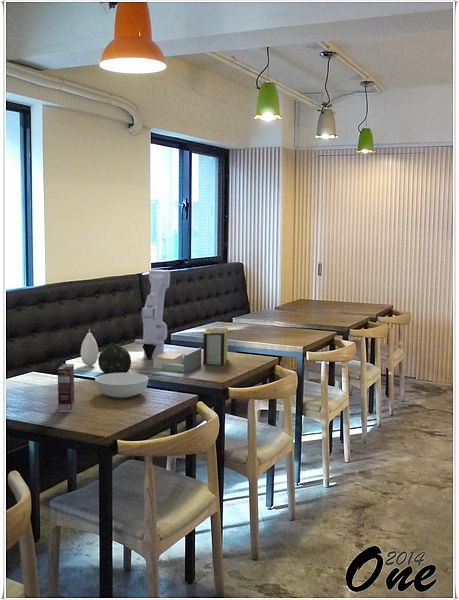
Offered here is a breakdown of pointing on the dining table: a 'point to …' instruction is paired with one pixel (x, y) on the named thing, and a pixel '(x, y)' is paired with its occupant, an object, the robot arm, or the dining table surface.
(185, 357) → the grey printed box
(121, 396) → the serving bowl
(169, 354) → the carton
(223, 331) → the protein box
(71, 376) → the supplement box
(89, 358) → the white teardrop bulb
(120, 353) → the squash
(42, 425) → the dining table surface
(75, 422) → the dining table surface
